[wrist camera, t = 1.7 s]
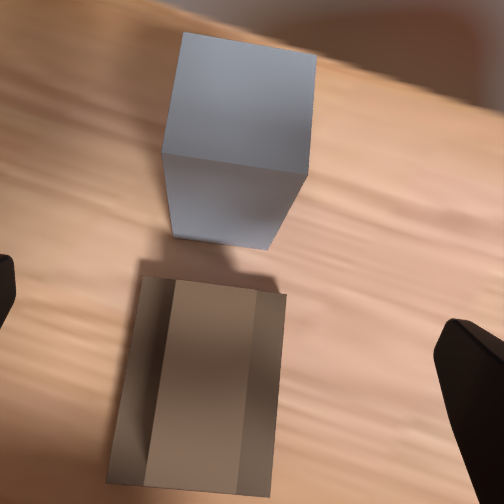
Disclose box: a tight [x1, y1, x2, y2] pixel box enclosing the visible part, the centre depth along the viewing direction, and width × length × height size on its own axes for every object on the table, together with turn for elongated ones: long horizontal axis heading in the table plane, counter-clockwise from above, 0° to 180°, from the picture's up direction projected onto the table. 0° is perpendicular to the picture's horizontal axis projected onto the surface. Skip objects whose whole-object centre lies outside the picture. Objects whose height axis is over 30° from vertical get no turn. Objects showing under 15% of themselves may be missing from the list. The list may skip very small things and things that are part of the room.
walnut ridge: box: [106, 276, 287, 498], centre depth 20 cm, size 9×7×4 cm
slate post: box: [161, 32, 317, 250], centre depth 20 cm, size 5×5×9 cm
